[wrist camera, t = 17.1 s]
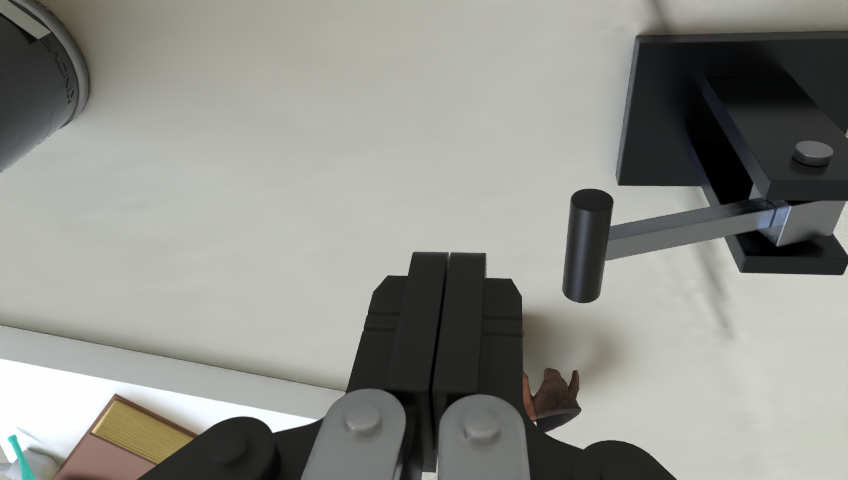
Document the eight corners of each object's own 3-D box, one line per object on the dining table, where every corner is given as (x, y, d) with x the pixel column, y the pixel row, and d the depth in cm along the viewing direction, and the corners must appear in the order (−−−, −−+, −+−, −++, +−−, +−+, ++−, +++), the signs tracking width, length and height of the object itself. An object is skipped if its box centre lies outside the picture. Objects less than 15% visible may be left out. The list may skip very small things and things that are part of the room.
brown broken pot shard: (548, 291, 46) (592, 395, 42) (555, 330, 54) (592, 420, 50) (400, 345, 47) (429, 451, 43) (429, 375, 55) (455, 467, 51)
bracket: (615, 175, 39) (646, 302, 30) (635, 35, 34) (682, 136, 24) (817, 176, 37) (917, 311, 28) (873, 29, 32) (1020, 135, 23)
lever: (553, 277, 29) (574, 312, 27) (560, 187, 25) (585, 219, 24) (786, 230, 30) (821, 259, 28) (819, 140, 27) (861, 166, 25)
